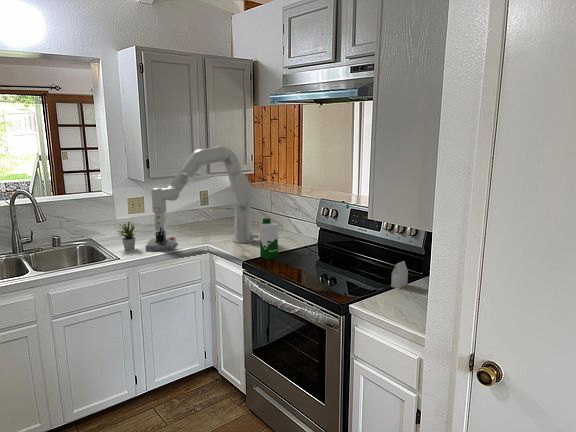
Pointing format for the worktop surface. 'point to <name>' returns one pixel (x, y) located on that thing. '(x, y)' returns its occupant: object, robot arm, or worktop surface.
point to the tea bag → (399, 275)
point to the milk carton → (268, 239)
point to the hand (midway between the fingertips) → (161, 240)
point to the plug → (163, 236)
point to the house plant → (128, 236)
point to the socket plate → (161, 244)
